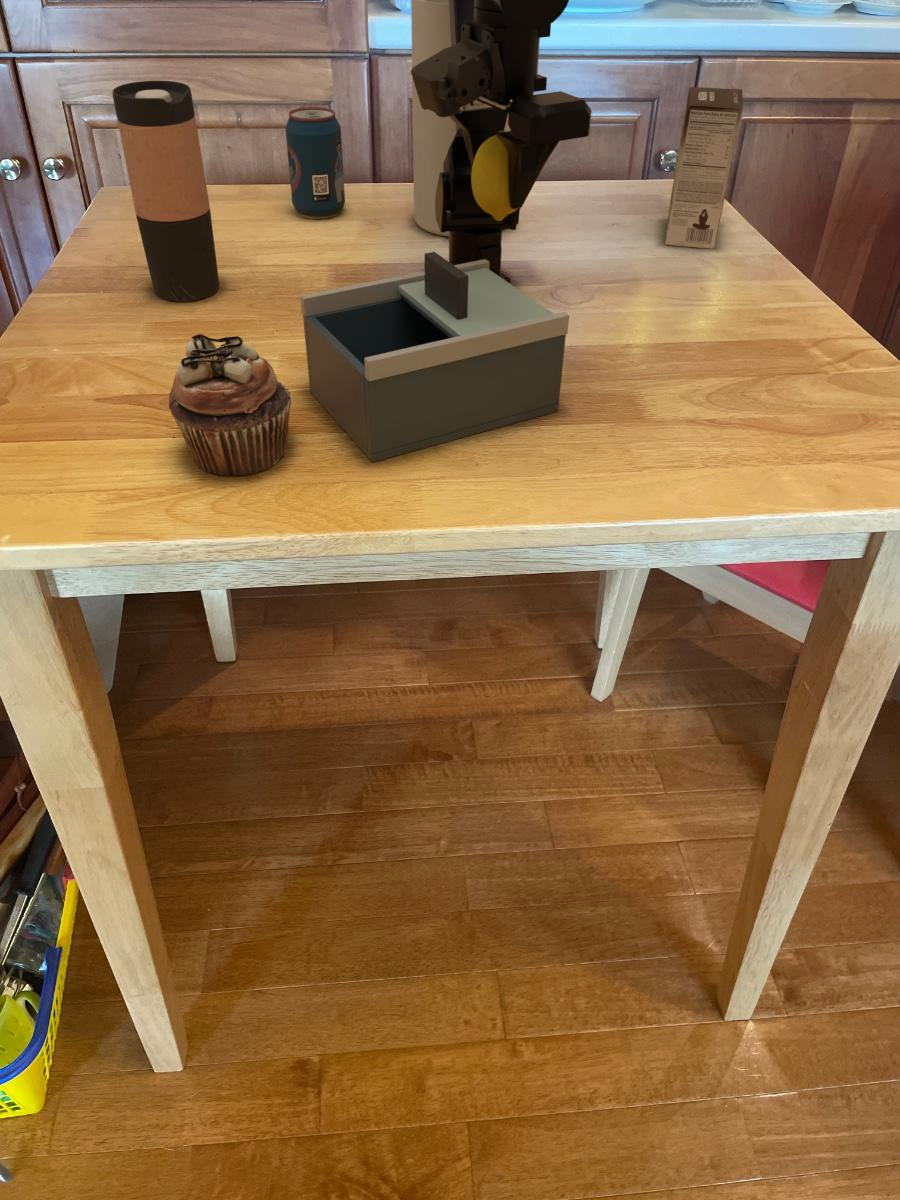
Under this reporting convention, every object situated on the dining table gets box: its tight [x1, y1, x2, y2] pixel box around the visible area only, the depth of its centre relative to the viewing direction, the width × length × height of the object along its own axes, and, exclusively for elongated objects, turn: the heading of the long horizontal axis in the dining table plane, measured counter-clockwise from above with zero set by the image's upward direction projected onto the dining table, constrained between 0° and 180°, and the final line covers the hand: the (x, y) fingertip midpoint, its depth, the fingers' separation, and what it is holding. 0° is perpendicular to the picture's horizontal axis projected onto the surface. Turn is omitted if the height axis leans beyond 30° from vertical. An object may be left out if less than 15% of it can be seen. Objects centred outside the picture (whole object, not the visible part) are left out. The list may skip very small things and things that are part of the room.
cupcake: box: [168, 333, 292, 477], centre depth 75 cm, size 10×10×10 cm
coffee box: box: [664, 86, 744, 250], centre depth 113 cm, size 9×6×16 cm
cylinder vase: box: [410, 0, 512, 238], centre depth 112 cm, size 12×12×25 cm
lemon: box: [471, 131, 517, 221], centre depth 87 cm, size 6×6×8 cm
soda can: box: [285, 106, 346, 220], centre depth 119 cm, size 7×7×12 cm
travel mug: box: [112, 80, 220, 303], centre depth 97 cm, size 8×8×20 cm
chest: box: [299, 259, 570, 463], centre depth 82 cm, size 14×19×9 cm
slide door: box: [398, 251, 555, 337], centre depth 80 cm, size 12×9×4 cm
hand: (499, 199), depth 88 cm, fingers closed on lemon, 5 cm apart
